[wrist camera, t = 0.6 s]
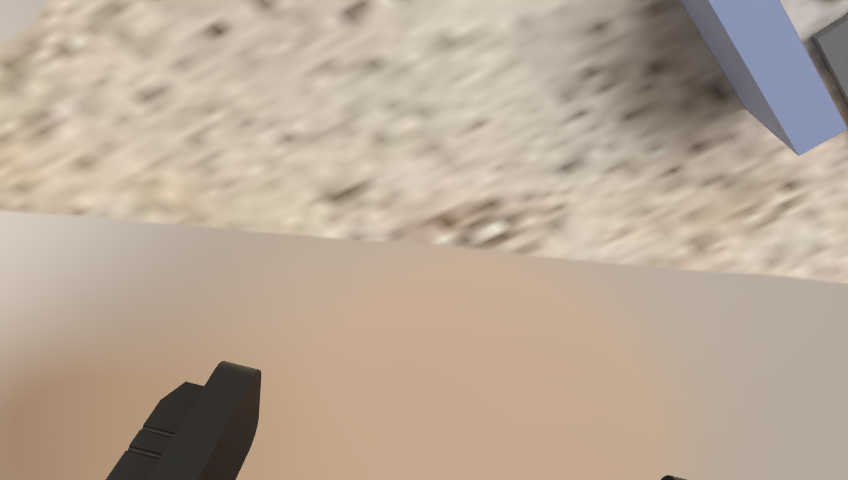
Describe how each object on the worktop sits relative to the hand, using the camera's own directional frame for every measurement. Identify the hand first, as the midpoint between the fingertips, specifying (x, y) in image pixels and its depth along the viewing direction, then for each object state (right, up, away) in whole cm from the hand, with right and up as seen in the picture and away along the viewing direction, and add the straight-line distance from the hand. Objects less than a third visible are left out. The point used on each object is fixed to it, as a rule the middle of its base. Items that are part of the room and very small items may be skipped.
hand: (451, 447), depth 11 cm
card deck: (+14, +15, +17) cm, 27 cm away
